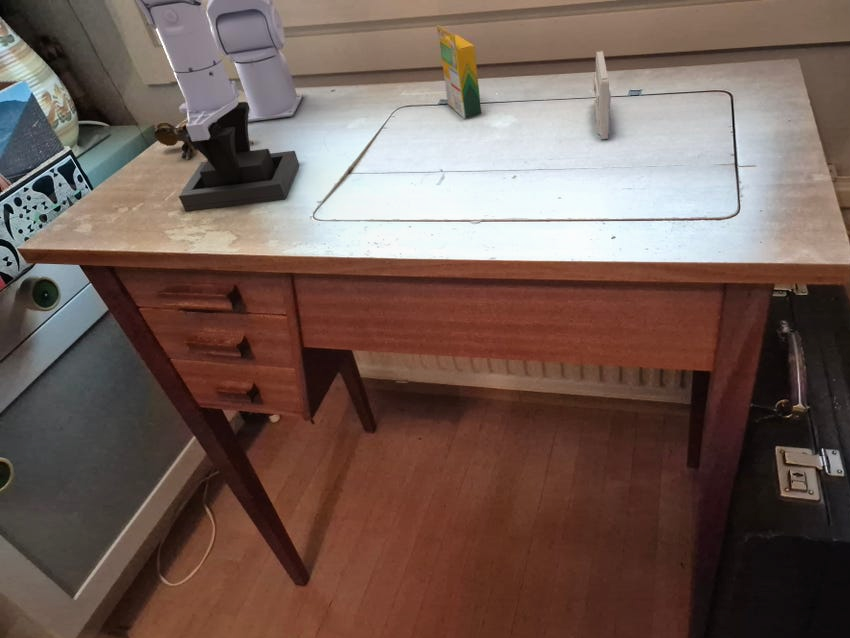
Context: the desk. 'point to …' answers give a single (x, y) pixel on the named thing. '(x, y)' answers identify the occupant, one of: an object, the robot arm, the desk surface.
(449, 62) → the crayon box
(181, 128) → the regulator
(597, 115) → the cassette
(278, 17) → the robot arm
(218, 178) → the dark grey block
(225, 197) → the dark grey rectangular tray
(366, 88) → the desk surface
